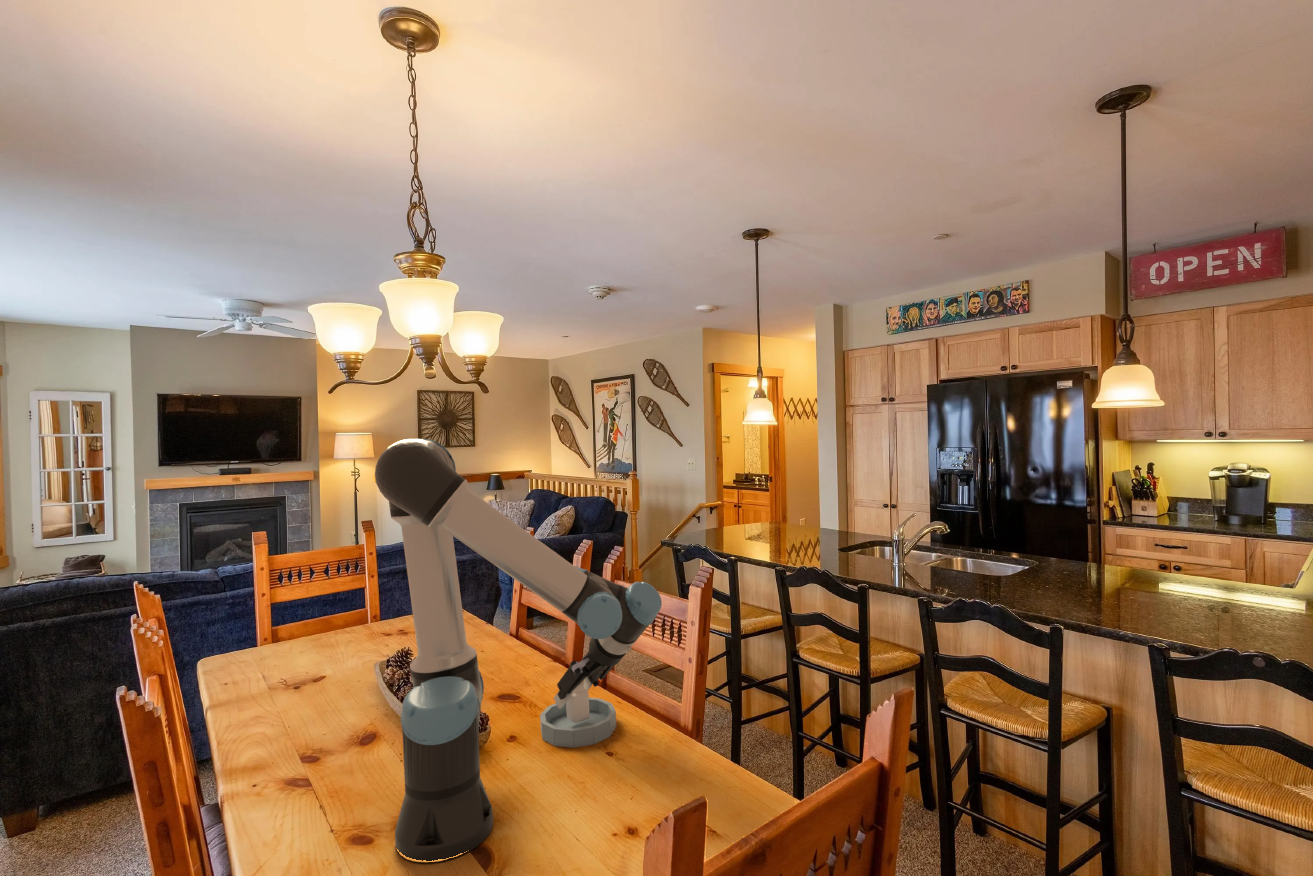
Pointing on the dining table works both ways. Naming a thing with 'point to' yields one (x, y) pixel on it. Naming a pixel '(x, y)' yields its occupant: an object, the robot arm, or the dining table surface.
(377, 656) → the dining table surface
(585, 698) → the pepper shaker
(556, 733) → the bowl
